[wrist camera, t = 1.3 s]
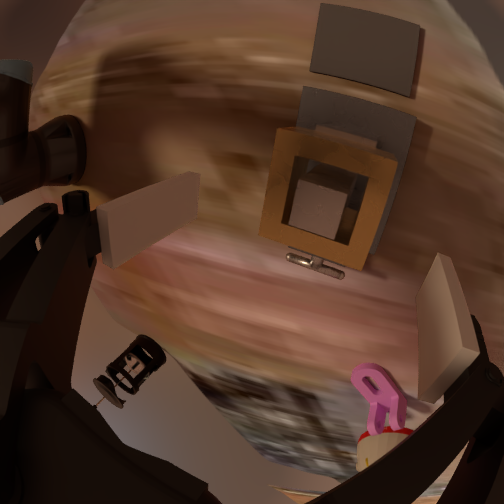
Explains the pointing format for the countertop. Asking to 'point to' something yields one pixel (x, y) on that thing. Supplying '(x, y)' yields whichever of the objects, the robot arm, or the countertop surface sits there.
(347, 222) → the orange-brown square frame
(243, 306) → the countertop surface
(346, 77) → the rubber mat
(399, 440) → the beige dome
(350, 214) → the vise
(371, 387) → the bracket
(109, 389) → the french press
